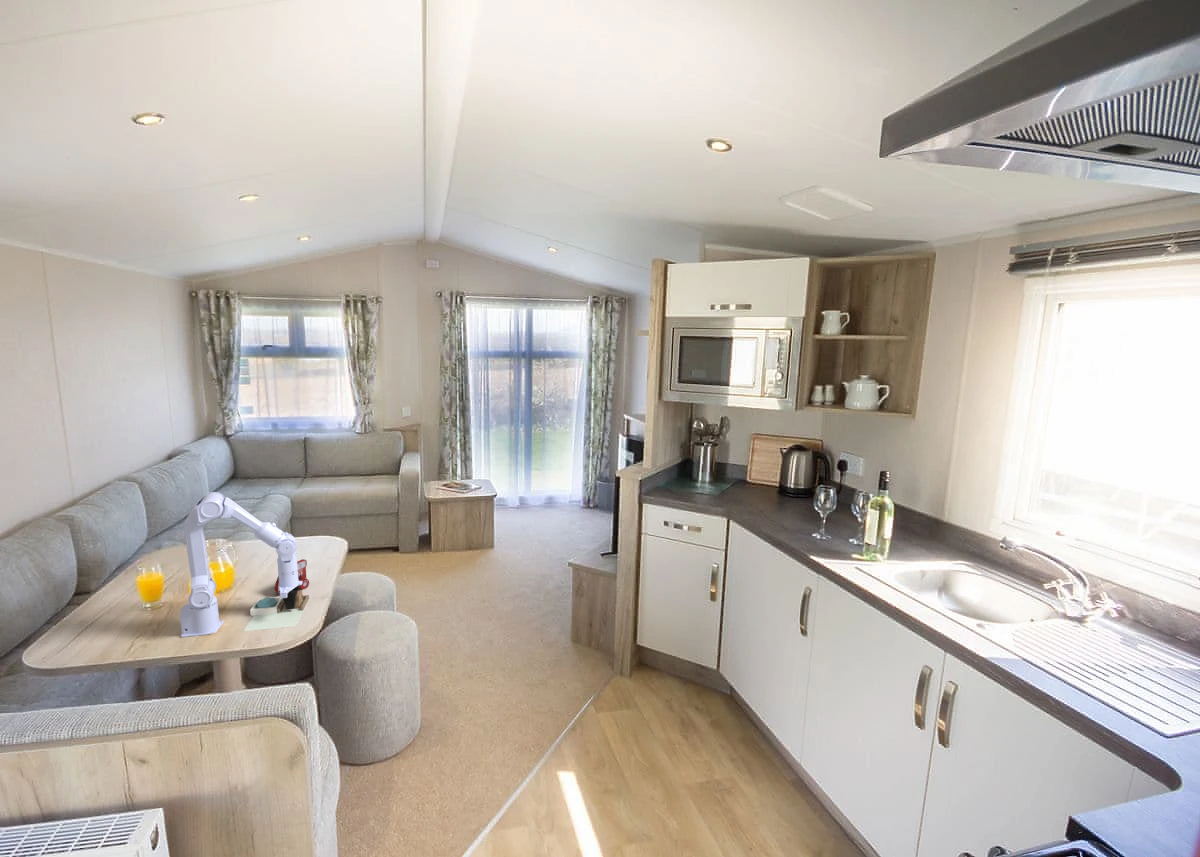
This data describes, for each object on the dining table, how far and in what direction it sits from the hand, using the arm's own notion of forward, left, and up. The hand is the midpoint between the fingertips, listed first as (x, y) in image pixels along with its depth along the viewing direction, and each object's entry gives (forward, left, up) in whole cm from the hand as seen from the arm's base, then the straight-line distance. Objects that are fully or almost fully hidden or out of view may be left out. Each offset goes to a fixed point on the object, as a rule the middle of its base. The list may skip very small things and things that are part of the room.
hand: (290, 608), depth 188 cm
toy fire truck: (-4, +18, -2) cm, 19 cm away
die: (0, +4, -1) cm, 4 cm away
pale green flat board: (-4, -1, -2) cm, 4 cm away
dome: (-8, +3, 0) cm, 9 cm away
